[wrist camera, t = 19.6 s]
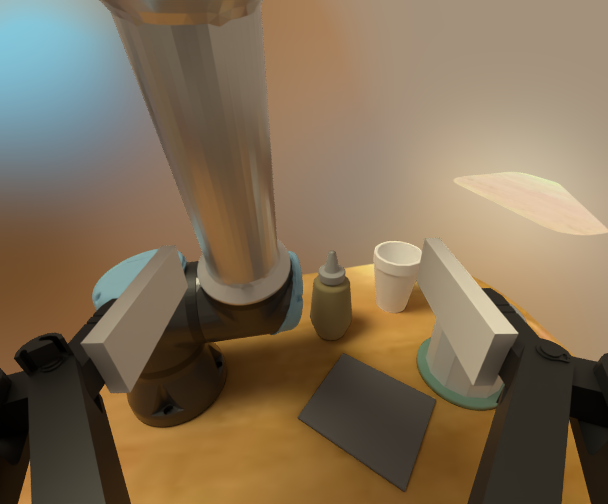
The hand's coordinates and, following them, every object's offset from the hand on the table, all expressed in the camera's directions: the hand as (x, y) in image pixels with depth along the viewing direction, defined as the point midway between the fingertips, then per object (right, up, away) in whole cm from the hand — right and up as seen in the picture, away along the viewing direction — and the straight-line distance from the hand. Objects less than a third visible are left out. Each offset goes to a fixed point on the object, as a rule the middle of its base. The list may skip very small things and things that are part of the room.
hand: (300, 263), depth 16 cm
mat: (+10, -23, +29) cm, 38 cm away
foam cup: (+19, -11, +49) cm, 54 cm away
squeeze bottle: (+5, -15, +43) cm, 46 cm away
